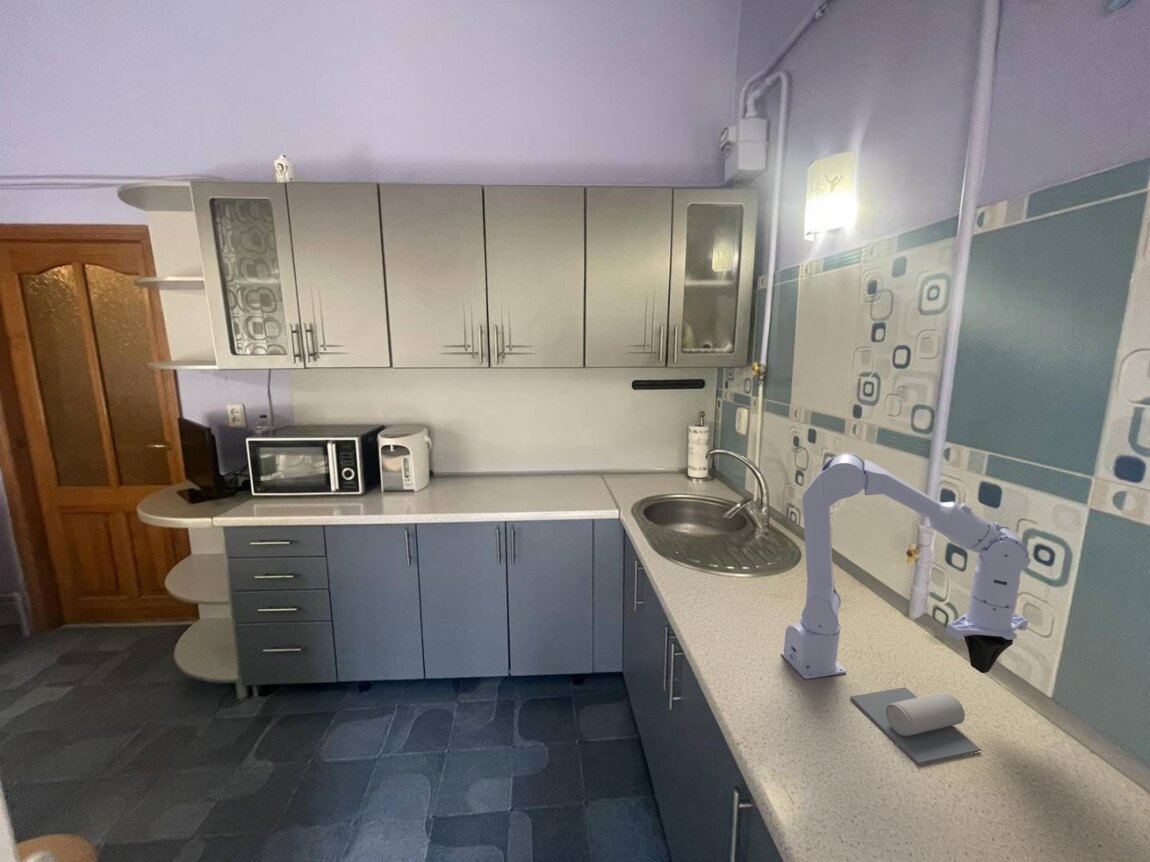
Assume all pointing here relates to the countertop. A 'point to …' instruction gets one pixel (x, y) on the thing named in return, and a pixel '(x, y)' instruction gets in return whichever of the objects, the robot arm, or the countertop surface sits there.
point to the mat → (916, 746)
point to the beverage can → (924, 714)
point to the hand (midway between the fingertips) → (979, 668)
